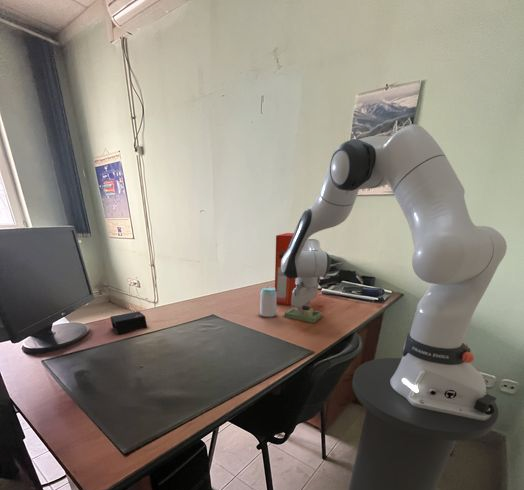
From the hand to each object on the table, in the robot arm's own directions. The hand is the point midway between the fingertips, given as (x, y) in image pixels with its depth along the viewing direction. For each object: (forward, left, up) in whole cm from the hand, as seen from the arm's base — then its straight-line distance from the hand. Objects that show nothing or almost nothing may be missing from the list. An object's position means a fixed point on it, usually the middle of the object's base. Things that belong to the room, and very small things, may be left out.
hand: (303, 312), depth 125 cm
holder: (0, 0, -2) cm, 2 cm away
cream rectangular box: (0, 0, -2) cm, 2 cm away
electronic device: (+51, +50, -2) cm, 71 cm away
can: (+14, +7, -2) cm, 16 cm away
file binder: (+18, -19, -2) cm, 26 cm away
